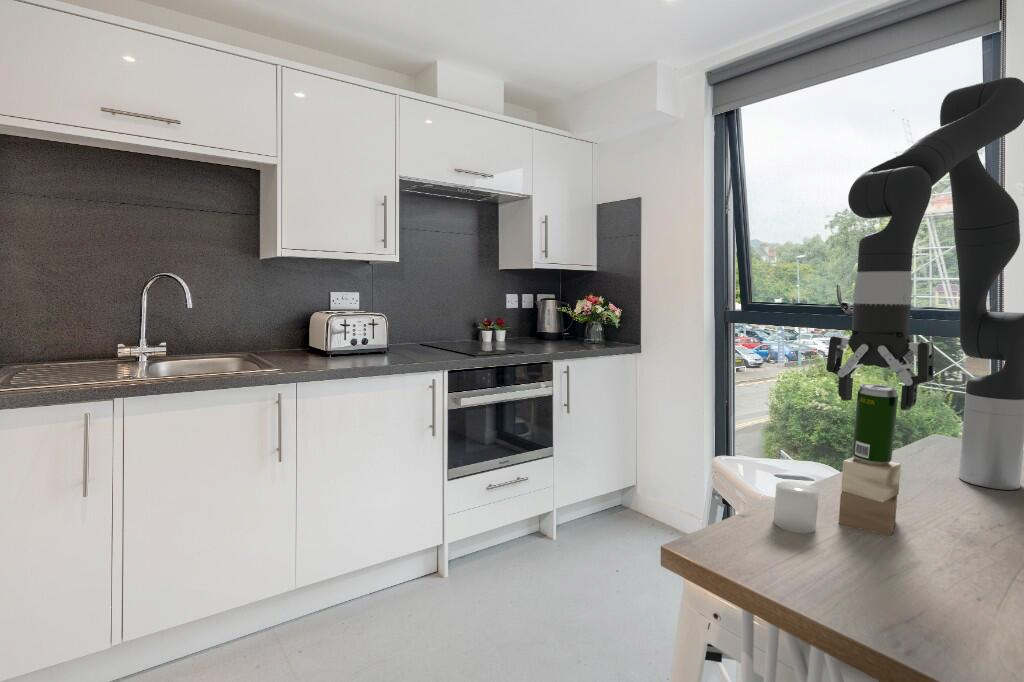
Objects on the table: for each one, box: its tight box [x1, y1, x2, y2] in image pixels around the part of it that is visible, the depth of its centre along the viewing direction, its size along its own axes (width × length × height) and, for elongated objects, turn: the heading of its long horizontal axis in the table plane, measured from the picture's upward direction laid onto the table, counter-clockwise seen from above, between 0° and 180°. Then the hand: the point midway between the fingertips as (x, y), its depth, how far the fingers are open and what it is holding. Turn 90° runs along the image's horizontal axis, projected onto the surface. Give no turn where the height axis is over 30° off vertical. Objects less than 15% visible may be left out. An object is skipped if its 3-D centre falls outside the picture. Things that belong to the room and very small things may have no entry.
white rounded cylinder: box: [773, 481, 820, 534], centre depth 90 cm, size 6×6×6 cm
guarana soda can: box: [851, 383, 899, 466], centre depth 90 cm, size 5×5×12 cm
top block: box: [840, 456, 902, 502], centre depth 91 cm, size 6×6×5 cm
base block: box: [838, 491, 898, 536], centre depth 91 cm, size 7×7×5 cm
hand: (874, 404), depth 90 cm, fingers open, 8 cm apart
